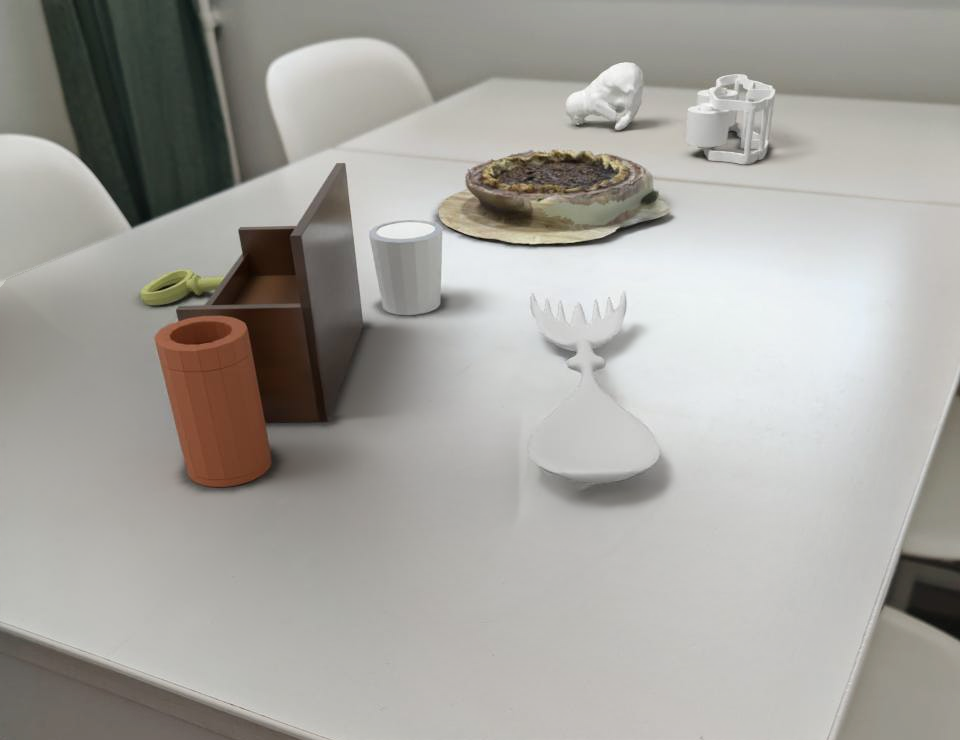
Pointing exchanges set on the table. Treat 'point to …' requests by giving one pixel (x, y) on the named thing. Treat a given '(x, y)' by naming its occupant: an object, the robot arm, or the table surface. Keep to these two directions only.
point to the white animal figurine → (609, 96)
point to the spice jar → (215, 399)
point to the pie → (552, 198)
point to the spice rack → (297, 304)
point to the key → (177, 286)
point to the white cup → (408, 265)
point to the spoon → (589, 406)
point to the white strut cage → (731, 119)
